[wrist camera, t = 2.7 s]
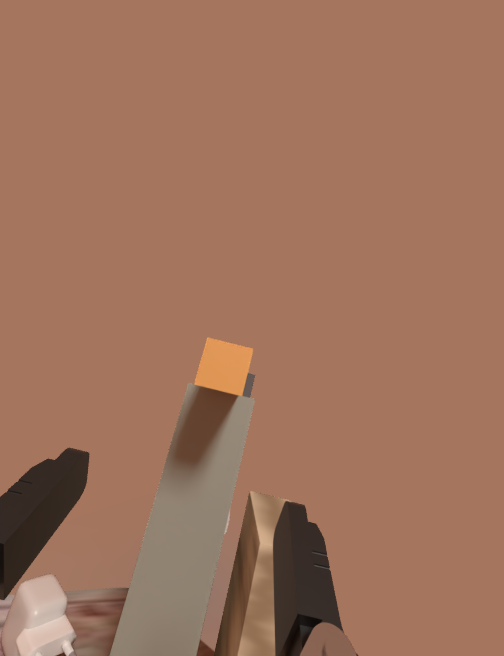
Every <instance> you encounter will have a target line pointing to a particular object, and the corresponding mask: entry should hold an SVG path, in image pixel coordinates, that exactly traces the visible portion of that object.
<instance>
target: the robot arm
mask: <svg viewBox="0 0 504 656" xmlns="http://www.w3.org/2000/svg"><path fill="white" fill-rule="evenodd" d="M88 463H89V453H88V452H85V451H81V450H77V449H73V448H67V449H66V450H65V451H64V452H63V453H62V454H61V455H60V456H59V457H58V458H57V459H56V460H52V459H46V460H45V461H43V462H41V463H39V464H37V465H36V466H34V467H32V468H31V469H30V470H29V471H28V472H27V473H25V474H24V475H23V476H22V477H21V478H20V479H19V481H18V482H16V483H15V484H14V485H13V486H12V487H11V488H9V489H8V491H7V492H6V493H4V494H3V495H2V496H1V497H0V599H1V600H5V598H6V597H7V596H8V594H9V593H10V592H11V590H12V589H13V588H14V586H15V585H16V583H17V582H18V581H19V579H20V578H21V577H22V575H23V574H24V573H25V571H26V570H27V569H28V567H29V566H30V565H31V563H32V562H33V561H34V559H35V558H36V557H37V555H38V554H39V553H40V551H41V550H42V549H43V547H44V546H45V545H46V543H47V542H48V540H49V539H50V537H51V536H52V535H53V534H54V532H55V531H56V530H57V528H58V527H59V526H60V524H61V523H62V522H63V520H64V519H65V518H66V516H67V515H68V513H69V512H70V511H71V510H72V508H73V507H74V505H75V504H76V503H77V501H78V500H79V499H80V497H81V495H82V493H83V491H84V489H85V486H86V482H87V474H88ZM329 567H330V566H329V561H328V557H327V552H326V546H325V541H324V538H323V536H322V534H321V532H320V530H319V528H318V527H317V525H316V524H315V523H311V522H308V520H307V513H306V508H305V506H304V505H302V504H298V503H294V502H290V501H285V503H284V505H283V508H282V511H281V514H280V516H279V519H278V522H277V525H276V528H275V531H274V537H273V576H274V620H275V656H358V655H357V654H356V653H355V650H354V648H353V646H352V644H351V642H350V641H349V639H348V638H347V636H346V635H345V634H344V632H343V629H342V626H341V622H340V617H339V612H338V607H337V601H336V596H335V591H334V586H333V581H332V577H331V571H330V570H329Z"/></svg>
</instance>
